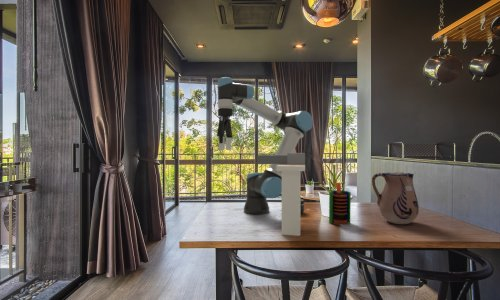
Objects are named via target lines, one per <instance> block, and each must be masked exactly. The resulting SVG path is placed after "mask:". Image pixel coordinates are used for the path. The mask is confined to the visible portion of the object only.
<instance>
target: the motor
mask: <svg viewBox="0 0 500 300" xmlns="http://www.w3.org/2000/svg"><path fill="white" fill-rule="evenodd" d="M341 186H342V185H341V183H340V182H334V187H335V188H336V190H329V192H328V193H329V196H328V197H329V198H328V201H329V203H328V204H329V205H328V207H329V209H328V210H329V211H328V215H329V216H328V219H329V220H328V223H329V224H331V225H337V226H347V225H348V224H349V225H350V224H351V200H352V199H351V192H350V191H347V190H342V187H341Z"/></svg>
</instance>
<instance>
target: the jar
mask: <svg viewBox="0 0 500 300" xmlns="http://www.w3.org/2000/svg"><path fill="white" fill-rule="evenodd" d="M304 212H305V199H302V198H301V215H303V214H304Z"/></svg>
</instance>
